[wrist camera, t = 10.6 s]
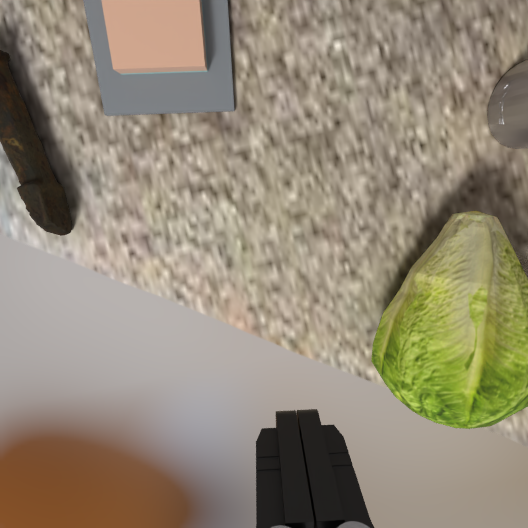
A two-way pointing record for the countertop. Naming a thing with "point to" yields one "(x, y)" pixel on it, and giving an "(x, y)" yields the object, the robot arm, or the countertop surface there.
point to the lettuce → (459, 328)
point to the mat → (167, 84)
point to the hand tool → (30, 159)
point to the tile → (156, 36)
